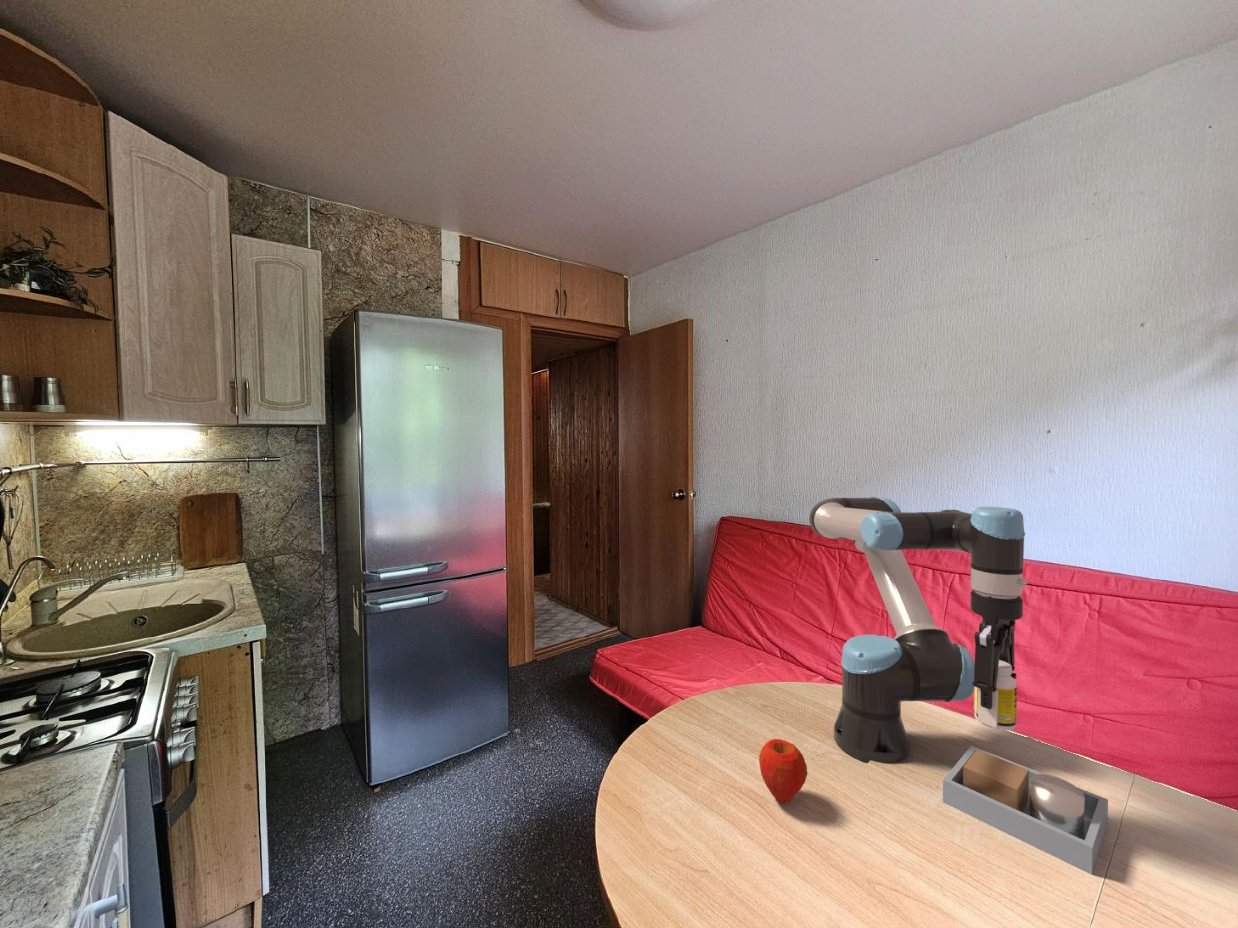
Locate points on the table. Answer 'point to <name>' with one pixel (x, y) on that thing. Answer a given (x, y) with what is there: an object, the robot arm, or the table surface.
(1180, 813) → the table surface
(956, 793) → the crate
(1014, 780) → the walnut block
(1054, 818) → the metal tin
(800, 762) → the apple
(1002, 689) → the pill bottle
